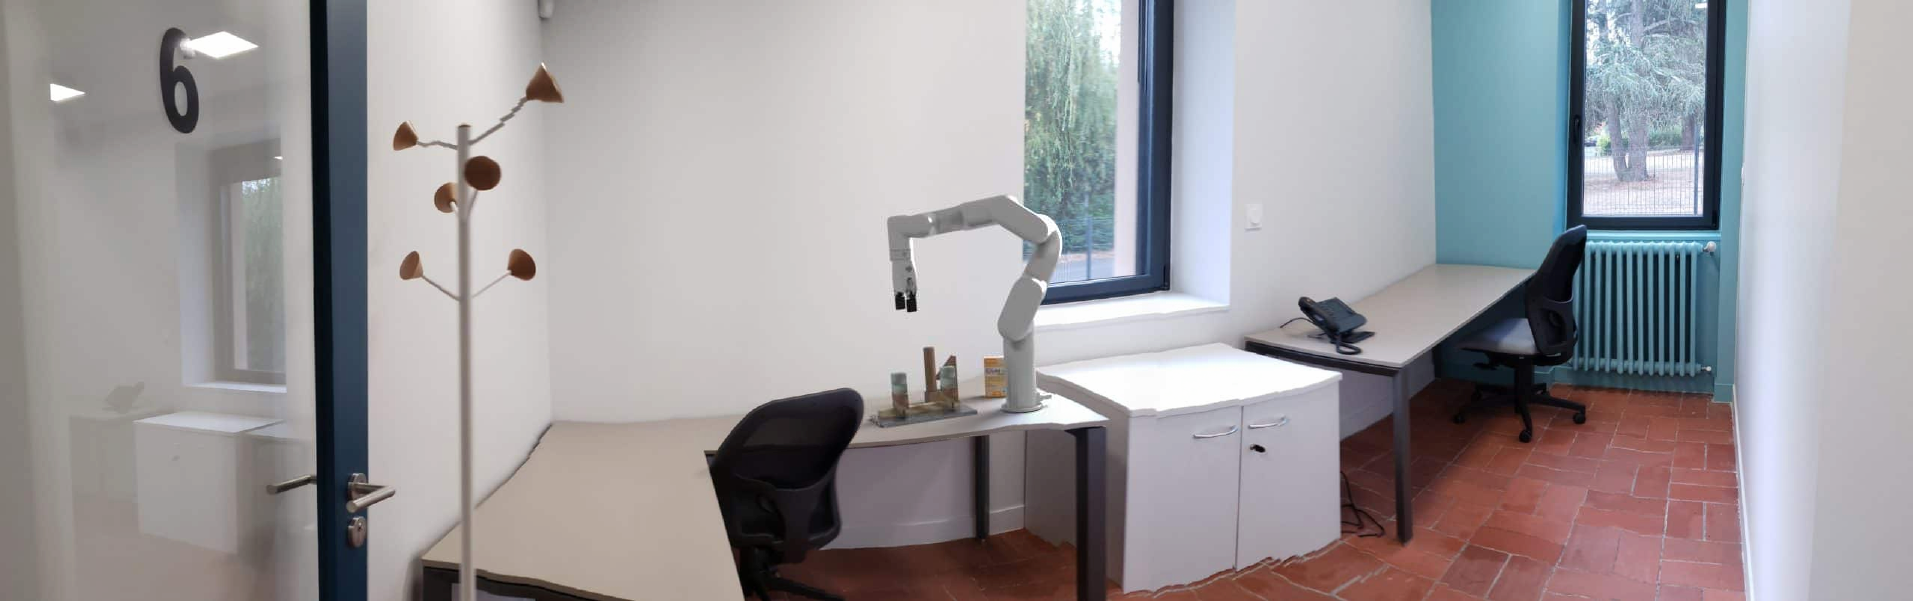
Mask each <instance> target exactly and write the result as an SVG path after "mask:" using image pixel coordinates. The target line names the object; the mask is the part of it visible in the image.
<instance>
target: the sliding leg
mask: <svg viewBox="0 0 1913 601" xmlns="http://www.w3.org/2000/svg"><path fill="white" fill-rule="evenodd" d="M907 378H908V377H907V373H906V372H904V371H902V372H894V373H893V372H892V373H890V382H891V383H890V384H891V400H892V408H896V409H898V410H899V411H900V410H903V416H906V415H905V410H907V409H909V405H910V404H909V393H908V380H907Z"/></svg>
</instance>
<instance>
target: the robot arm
mask: <svg viewBox="0 0 1913 601" xmlns="http://www.w3.org/2000/svg"><path fill="white" fill-rule="evenodd" d="M997 225H999V226H1000V227H1002V228H1003V229H1004V230H1007V231H1008V232H1009V233H1012V234H1013V235H1015V236H1017V237H1018V238H1020V240H1023V241H1024V242H1027V243H1028V244H1030V245H1033V248H1032V250H1031V254H1030V256H1029V257H1028V260H1027V263H1026V265H1025V268H1024V269H1023V271H1022V274H1021V276H1020V277H1019V278H1018V279H1016V281H1015V282H1014V283H1013V285H1012V287H1011V289H1010V291H1009V293H1008V295H1007V298H1006V301H1005V303H1004V305H1003V308H1002V309H1001V312H1000V315H999V316H998V320H997V323H996V324H997V326H996V328H997V331H998V333H999V335H1000V336H1001V338H1002V354H1003V355H1002V356H1004V374H1005V391H1006V397H1005V402H1004V403H1002V404H1001V405H1000V406H1001V410H1002V411H1004V412H1006V413H1007V412H1008V413H1028V412H1034V411H1039V410H1041V409H1042V408H1043V403H1042V401H1044V400H1045V401H1046V400H1051V399H1052V397H1053V396H1052V393H1051V392H1047V393H1046V392H1045V393H1044V392H1038V390H1037V379H1036V378H1037V374H1036V359H1035V358H1036V354H1035V353H1036V352H1035V320H1034V319H1035V316H1036V314H1037V312H1038V310H1039V308H1040V306H1041V303H1042V301H1043V300H1044V299H1045V296H1046V294H1047V290H1048V287H1049V285H1050V282H1051V280H1052V278H1053V277H1054V276H1053V275H1054V273H1055V270H1056V268H1057V266H1058V263H1059V260H1060V258H1061V255H1062V250H1063V249H1062V248H1063V240H1062V234H1061V232H1060V229H1059V228H1058V225H1057V224H1056V223H1055V222H1054V221H1053V220H1052V219H1051V218H1050V217H1049V216H1047V215H1045V214H1042V213H1038V214H1037V213H1035V212H1034V211H1032V210H1031V209H1028V208H1027V207H1025V206H1024V205H1022V204H1020V203H1019V201H1018V198H1016V197H1015V196H1013V195H1011V194H998V195H996V196H991V197H986V198H980V199H975V200H971V201H967V202H965V201H964V202H963V203H960V204H958V205H955V206H952V207H947V208H943V209H938V210H933V211H927V212H921V213H917V214H913V215H909V214H908V215H906V214H902V215H891V216H889V217H888V218H887V221H886V227H887V238H888V240H887V241H888V251H889V262H891V272H892V275H891V276H892V286H893V287H892V288H893V292H894V294H893V296H894V303H895V304H894V306H895V310H896V311H901V310H905V309H906V313H915V312H917V311H918V305H917V304H918V301H917V291H918V290H919V286H918V284H919V283H918V276H917V269H916V264H915V261H914V260H915V249H914V248H915V246H914V239H927V238H929V237H933V236H938V235H943V234H947V233H952V232H957V231H958V232H959V231H966V232H967V231H974V230H977V229H984V228H987V227H993V226H997ZM904 295H905V296H904Z"/></svg>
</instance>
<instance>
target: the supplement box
mask: <svg viewBox="0 0 1913 601" xmlns="http://www.w3.org/2000/svg"><path fill="white" fill-rule="evenodd" d="M983 370H984V371H983V372H984V374H983V375H984V392H985V398H1006V391H1005V374H1004V355H984V357H983Z"/></svg>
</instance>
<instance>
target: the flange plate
mask: <svg viewBox="0 0 1913 601" xmlns="http://www.w3.org/2000/svg"><path fill="white" fill-rule="evenodd" d="M970 414H971V415H977V414H978V409H975V408H974V407H971V406H968V405H967V404H964V403H963V402H960V406H959V407H954V409H952V408H945V409H938V410H931V411H924V412H918V413H911V414H905V415H906V416H903V415H897V416H890V417H884V418H880V417H878V414H872V415H868V418H869V417H870V418H871V419H872V420H874V421H876V422H877V423H879V424H880V425H881V426H891V427H898V426H903V425H904V424H905V425H910V424H917V423H918V424H919V423H923V422H929V421H930V422H931V421H937V420H943V419H949V418H950V419H951V418H957V417H964V416H970ZM872 420H871V421H872ZM877 423H876V424H877ZM880 425H879V426H880ZM881 426H880V427H881Z"/></svg>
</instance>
